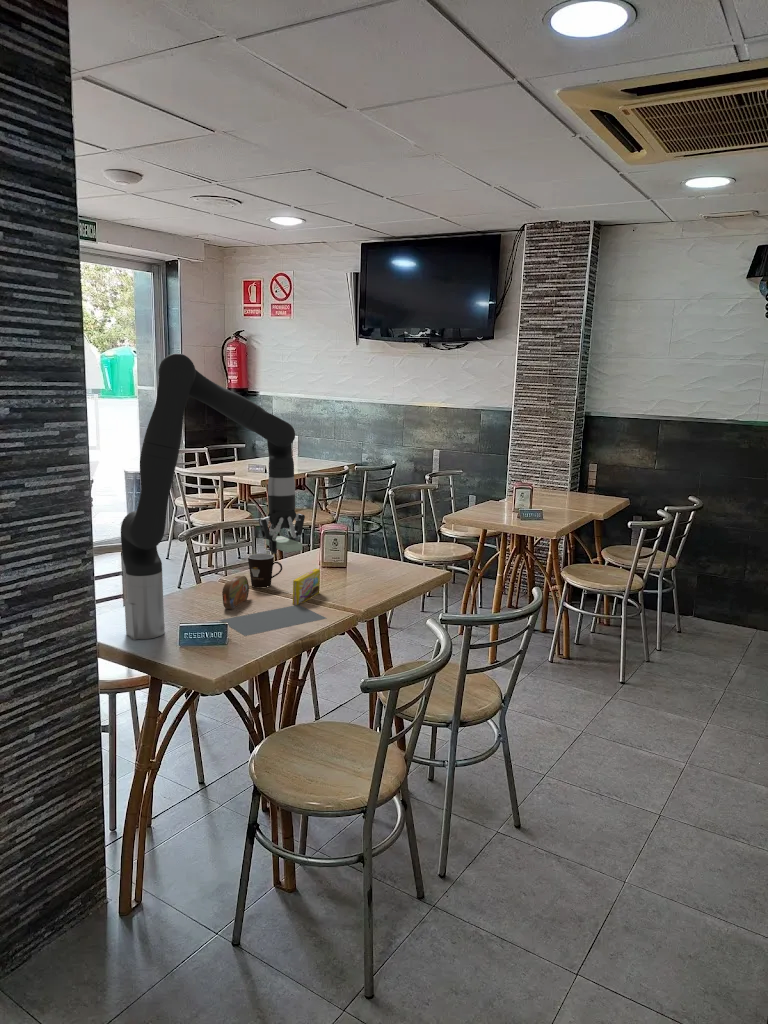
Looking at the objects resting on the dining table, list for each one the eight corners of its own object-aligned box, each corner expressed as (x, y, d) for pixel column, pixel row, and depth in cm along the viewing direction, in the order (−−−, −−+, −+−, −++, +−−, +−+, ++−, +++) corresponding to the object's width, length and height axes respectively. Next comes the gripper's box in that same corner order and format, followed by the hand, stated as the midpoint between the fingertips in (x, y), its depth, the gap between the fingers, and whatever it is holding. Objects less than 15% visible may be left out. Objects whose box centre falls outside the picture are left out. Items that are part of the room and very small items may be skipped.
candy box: (298, 607, 222) (298, 580, 221) (292, 606, 223) (291, 580, 222) (320, 593, 237) (320, 568, 236) (314, 592, 238) (314, 567, 237)
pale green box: (286, 545, 199) (265, 537, 209) (286, 552, 200) (265, 544, 209) (302, 542, 202) (281, 535, 212) (302, 550, 203) (281, 542, 212)
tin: (230, 613, 215) (230, 585, 214) (220, 612, 216) (220, 585, 214) (250, 599, 230) (249, 573, 228) (240, 598, 230) (240, 572, 229)
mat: (244, 638, 194) (244, 635, 194) (219, 622, 207) (219, 620, 207) (327, 620, 210) (327, 618, 210) (298, 606, 222) (298, 604, 222)
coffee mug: (243, 585, 245) (242, 556, 244) (264, 580, 251) (264, 552, 249) (262, 592, 237) (262, 562, 235) (284, 587, 243) (284, 558, 241)
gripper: (297, 489, 211) (297, 546, 214) (252, 493, 203) (253, 552, 206) (310, 492, 205) (311, 551, 208) (265, 496, 197) (266, 557, 200)
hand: (282, 551), depth 207 cm, fingers closed on pale green box, 5 cm apart
